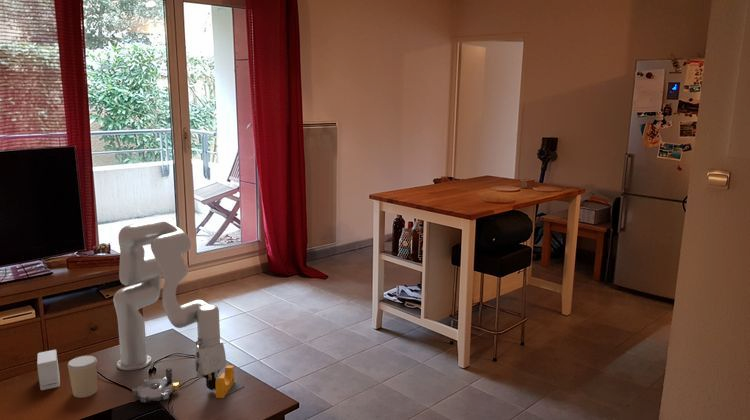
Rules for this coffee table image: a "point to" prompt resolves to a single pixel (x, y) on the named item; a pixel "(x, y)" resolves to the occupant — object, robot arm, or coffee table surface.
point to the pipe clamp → (225, 382)
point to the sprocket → (156, 388)
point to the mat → (234, 388)
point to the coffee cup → (83, 376)
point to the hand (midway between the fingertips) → (211, 388)
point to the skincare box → (48, 370)
